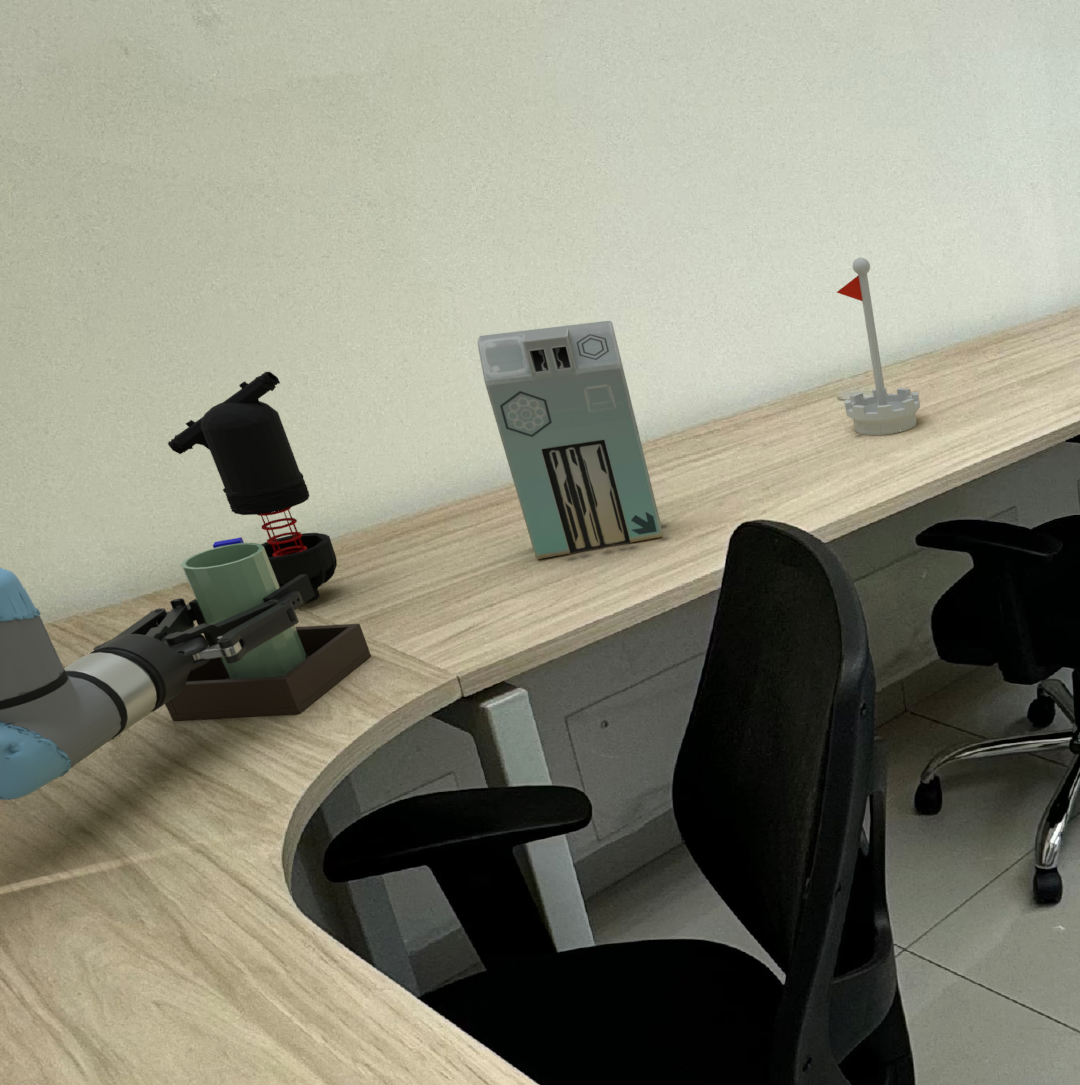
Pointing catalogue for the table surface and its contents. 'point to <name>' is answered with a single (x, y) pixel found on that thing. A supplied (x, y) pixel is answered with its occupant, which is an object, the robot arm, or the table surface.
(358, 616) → the table surface
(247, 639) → the robot arm
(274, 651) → the green pipe segment
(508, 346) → the device
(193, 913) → the table surface
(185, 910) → the table surface
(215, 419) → the filter
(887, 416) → the flag stand
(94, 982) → the table surface
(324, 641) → the tray
